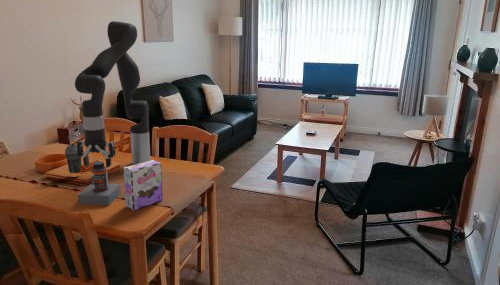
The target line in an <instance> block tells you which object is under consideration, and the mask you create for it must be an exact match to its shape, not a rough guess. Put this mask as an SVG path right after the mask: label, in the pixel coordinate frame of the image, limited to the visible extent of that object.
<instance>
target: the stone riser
mask: <svg viewBox="0 0 500 285" xmlns="http://www.w3.org/2000/svg"><path fill="white" fill-rule="evenodd" d="M121 188H122V187H121V184H120V183H118V184H117V183H108V189H106V190H104V191H94V190H93V188H92V183H91V184H89V185H88V186H87V187H86V188H84V189H83V190H82V191H80V192H79V193H78V194H77V196H78V204H79V205H93V206H95V205H97V206H110V205H112V203H113V202H114V201H115V200H116V199H117V198H118V197H119V196H120V195H121V194H122V190H121Z"/></svg>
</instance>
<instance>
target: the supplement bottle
mask: <svg viewBox="0 0 500 285" xmlns="http://www.w3.org/2000/svg"><path fill="white" fill-rule="evenodd" d="M92 165H93V166H92V168H91V169H90V172H91V184H92V188H93V190H94V191H104V190H106V189H108V184H109V180H108V176H109V175H108V167H106V165H105V162H104V161H95V162H93V164H92Z"/></svg>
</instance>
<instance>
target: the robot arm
mask: <svg viewBox="0 0 500 285" xmlns="http://www.w3.org/2000/svg"><path fill="white" fill-rule="evenodd" d="M107 37H108V42H109V45H110V47H108V48H106V49H104V50H102V51H101V52H99V53H98V55H97V56H96V57H95V59H93V62H92V63H91V65H89V66H87V67H86V68H85V69H84V70H82V71H81V72H80V73H79V74H78V75H77V76H76V78H75V79H74V80H75V81H74V87H75V90H76V92H78V93H80V94H86V95H87V94H88V95H91V97H90V99H85V100H84V101H82V103H81V109H82V126H83V127H82V128H83V136H84V138H83V139H84V140H82V139H81V140H79V141H77V142H76V145H77V155H78V156H81V158H82V161H83V165H84V166H85V167H86V168H88V167H89V166H90V156H89V154H90V153H93V154H94V153H97V154H98V153H99V154H101V155H103V156H104V158H105V167H106V168H109V167H111V165H112V158H114V157H115V156H116V148H115V142H114V141H109V142H107V140H106V129H105V128H106V126H105V119H104V115H103V114H104V111H103V103H104V95H105V92H106V82H105V80H104V79H106V78H107V77H108V76H109V74H110V73H111V71H112V69H113V68H114V67H115V65H116V69H117V74H118V77H119V82H120V85H121V90H122V95H123V100H124V101H123V102H124V108H125V113H126V116H127V118H128V119H131V120H133V119H135V120H139V119H140V120H141V121H140V122H139V123H136V124H133V125H131V126H130V127H129V128H130V130H129V131H130V144H131V146H130V147H131V162H132V165H136V164H140V163H144V162H148V161H151V146H150V122H149V118H150V117H149V116H150V115H149V114H150V112H149V111H150V107H149V103H148V102H147V100H133V98H132V97H133V95H134V93H135V91H136V90H137V88H138V86H140V82H141V76H140V71H139V70H140V69H139V67H138V66H139V65H137V63H136V62H135V60H133V58H132V57H131V56H130V55H129V53H128V51H129V50H130V49H131V48H132V47H133V46H134V44H135V43H136V41H137V39H138V30H137V27H136V26H135V24H133V23H129V22H123V21H118V20H117V21H115V20H114V21H110V22H109V23H108V24H107ZM84 146H85V147H86V149H85V151H84ZM108 149H109V150H108Z"/></svg>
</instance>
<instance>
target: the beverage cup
mask: <svg viewBox="0 0 500 285" xmlns="http://www.w3.org/2000/svg"><path fill="white" fill-rule="evenodd" d="M68 140H69V145H68V146H66V147H65V151H64V155H65V158H66V162H67V166H68V171H69V173H70V172H71V173H78V172H80V166H81V167H82V157H81V156H78V155H77V143H76V144H72V140H71V136H70V135H68Z"/></svg>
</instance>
